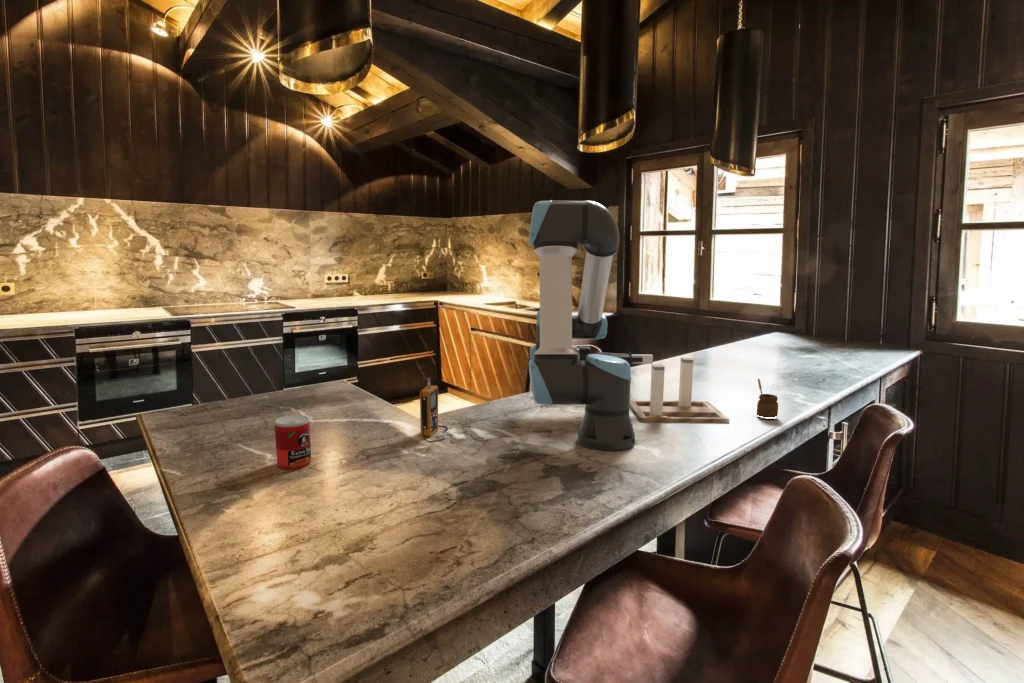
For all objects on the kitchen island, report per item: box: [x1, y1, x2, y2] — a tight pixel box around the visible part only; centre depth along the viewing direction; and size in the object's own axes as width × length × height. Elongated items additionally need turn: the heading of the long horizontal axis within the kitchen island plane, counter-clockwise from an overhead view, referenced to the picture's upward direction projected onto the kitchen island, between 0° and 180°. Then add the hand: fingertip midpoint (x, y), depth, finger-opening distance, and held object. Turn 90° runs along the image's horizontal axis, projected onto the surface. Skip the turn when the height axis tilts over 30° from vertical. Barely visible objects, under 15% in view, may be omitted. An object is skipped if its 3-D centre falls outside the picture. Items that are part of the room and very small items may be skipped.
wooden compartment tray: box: [629, 399, 730, 425], centre depth 178 cm, size 26×20×3 cm
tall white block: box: [677, 357, 694, 407], centre depth 183 cm, size 3×4×16 cm
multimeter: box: [419, 361, 457, 443], centre depth 159 cm, size 15×10×20 cm
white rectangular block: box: [649, 364, 666, 417], centre depth 171 cm, size 3×4×16 cm
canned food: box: [274, 414, 312, 471], centre depth 136 cm, size 8×8×11 cm
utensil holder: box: [756, 378, 780, 417], centre depth 177 cm, size 6×6×12 cm
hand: (652, 359), depth 182 cm, fingers closed
